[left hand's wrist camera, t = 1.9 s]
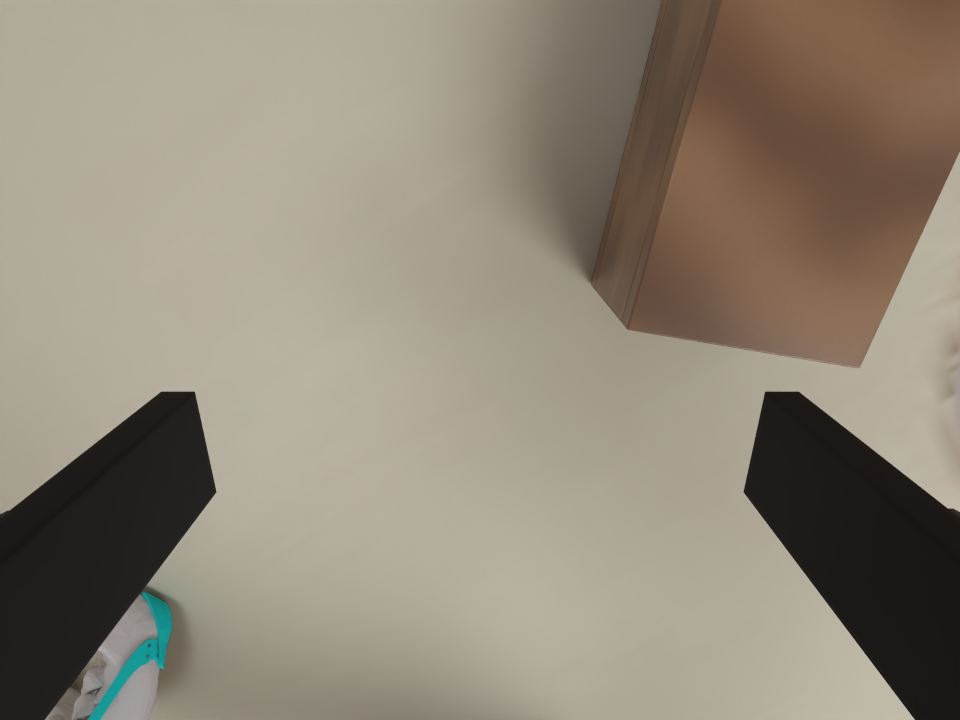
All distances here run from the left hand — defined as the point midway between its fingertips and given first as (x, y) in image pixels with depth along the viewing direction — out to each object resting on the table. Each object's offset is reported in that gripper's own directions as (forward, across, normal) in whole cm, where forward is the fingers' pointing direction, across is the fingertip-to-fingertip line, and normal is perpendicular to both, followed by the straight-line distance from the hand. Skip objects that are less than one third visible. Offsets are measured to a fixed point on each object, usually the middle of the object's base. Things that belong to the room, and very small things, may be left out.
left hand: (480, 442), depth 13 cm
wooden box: (+19, -13, -7) cm, 24 cm away
